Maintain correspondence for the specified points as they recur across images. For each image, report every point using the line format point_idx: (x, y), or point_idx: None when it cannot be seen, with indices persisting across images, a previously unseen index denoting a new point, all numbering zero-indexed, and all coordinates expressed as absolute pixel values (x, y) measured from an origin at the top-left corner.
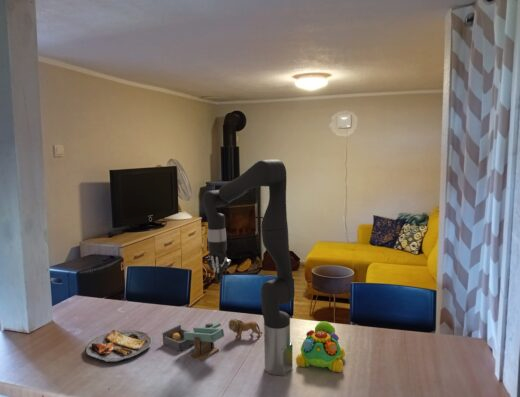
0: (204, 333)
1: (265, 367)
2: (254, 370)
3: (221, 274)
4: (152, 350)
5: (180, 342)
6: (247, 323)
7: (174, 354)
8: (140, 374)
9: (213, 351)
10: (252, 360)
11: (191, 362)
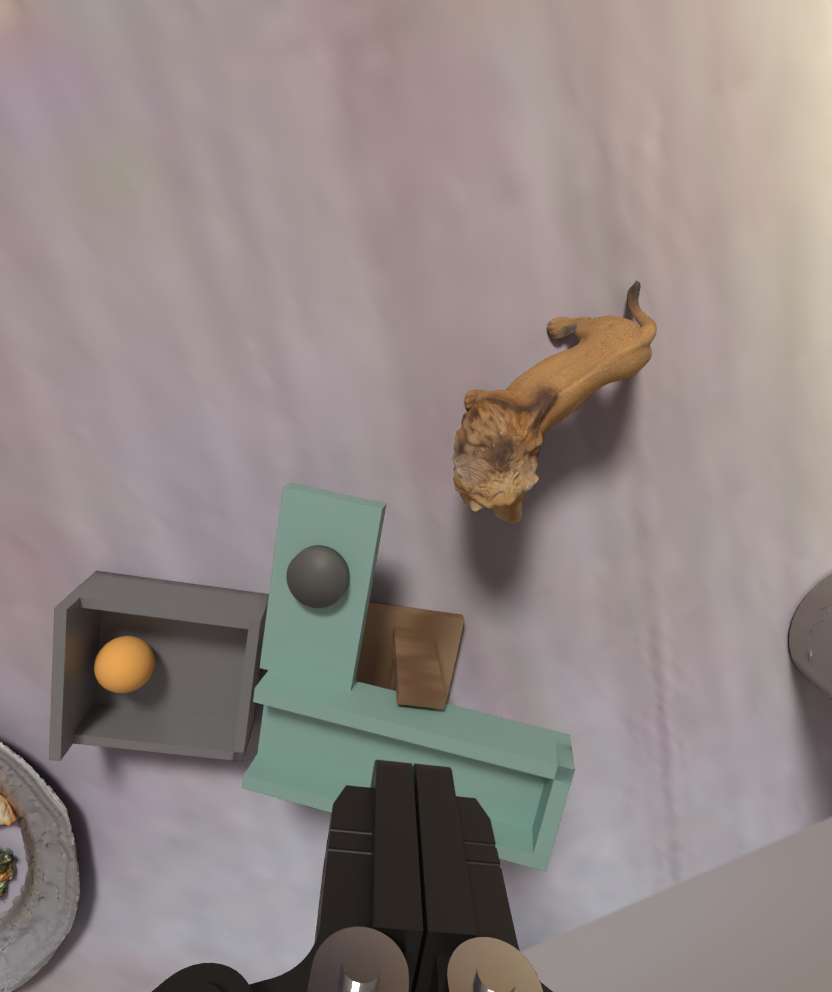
0: None
1: (813, 682)
2: (743, 692)
3: (504, 932)
4: (92, 783)
5: (239, 752)
6: (587, 386)
7: (245, 759)
8: (234, 953)
9: (451, 660)
10: (697, 617)
11: None
